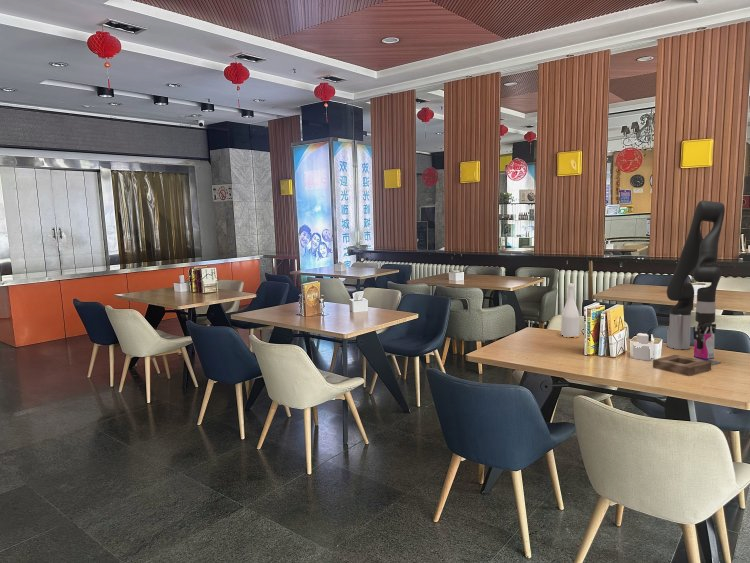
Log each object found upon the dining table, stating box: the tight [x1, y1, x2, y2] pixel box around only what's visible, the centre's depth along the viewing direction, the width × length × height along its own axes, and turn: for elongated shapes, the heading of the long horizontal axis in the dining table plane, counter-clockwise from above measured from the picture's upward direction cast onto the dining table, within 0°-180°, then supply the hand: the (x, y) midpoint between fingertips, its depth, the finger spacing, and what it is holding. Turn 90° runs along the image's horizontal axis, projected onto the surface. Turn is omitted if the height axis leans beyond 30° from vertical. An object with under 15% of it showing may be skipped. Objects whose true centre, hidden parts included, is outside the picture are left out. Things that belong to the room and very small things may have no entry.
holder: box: [652, 354, 712, 377], centre depth 231 cm, size 16×16×4 cm
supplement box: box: [693, 333, 716, 360], centre depth 240 cm, size 6×6×12 cm
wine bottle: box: [560, 282, 581, 337], centre depth 299 cm, size 10×10×30 cm
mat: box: [694, 357, 722, 366], centre depth 241 cm, size 10×10×1 cm
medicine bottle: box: [632, 332, 652, 362], centre depth 250 cm, size 7×7×12 cm
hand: (704, 347), depth 241 cm, fingers closed on supplement box, 6 cm apart
